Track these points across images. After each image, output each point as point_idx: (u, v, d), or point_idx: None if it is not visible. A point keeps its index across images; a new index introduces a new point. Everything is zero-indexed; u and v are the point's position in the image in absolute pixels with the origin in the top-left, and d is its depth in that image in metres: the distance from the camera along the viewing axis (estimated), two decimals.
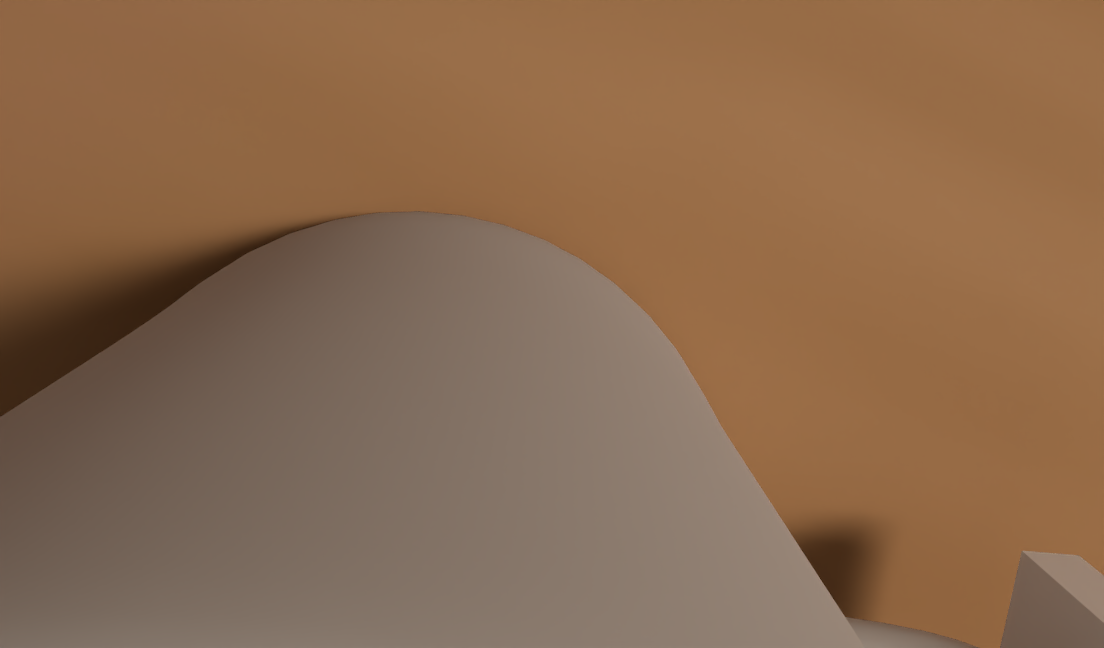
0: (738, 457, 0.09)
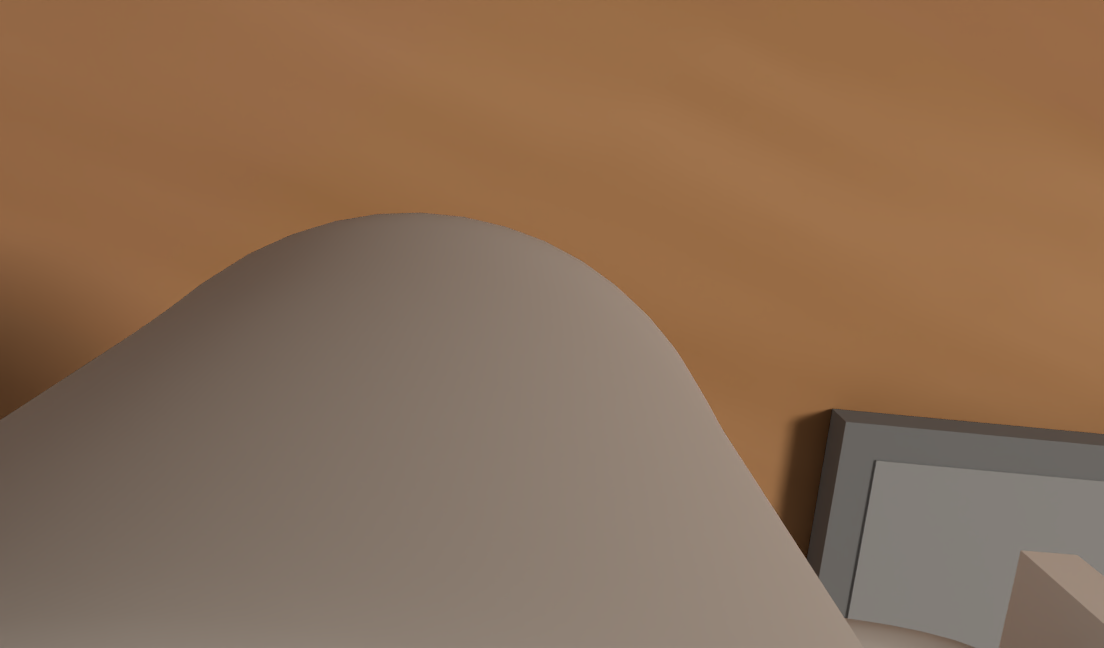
0: (738, 458, 0.09)
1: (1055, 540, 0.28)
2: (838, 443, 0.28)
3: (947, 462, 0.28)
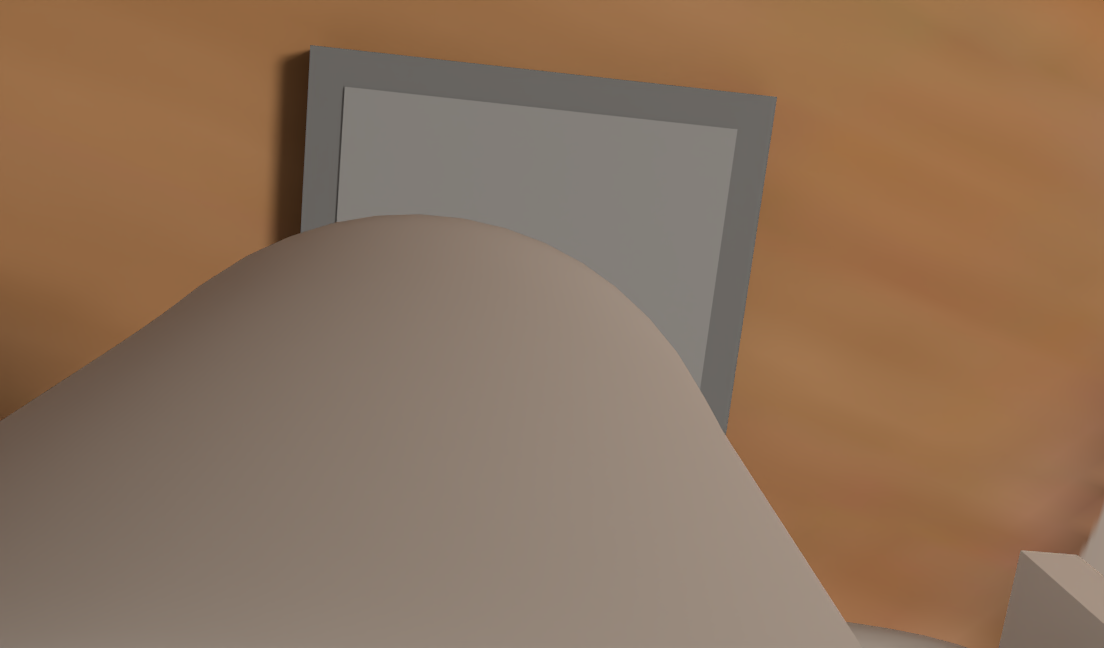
0: (740, 463, 0.09)
1: (535, 174, 0.28)
2: (311, 72, 0.28)
3: (418, 90, 0.28)
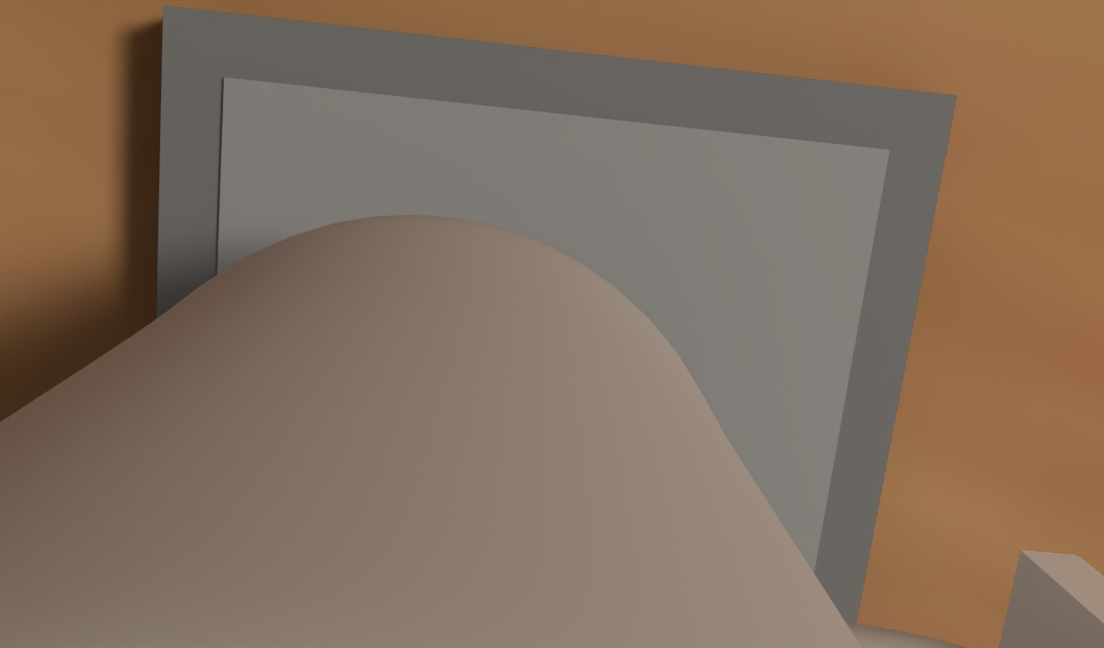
0: (740, 463, 0.09)
1: (550, 225, 0.17)
2: (168, 52, 0.16)
3: (351, 83, 0.16)
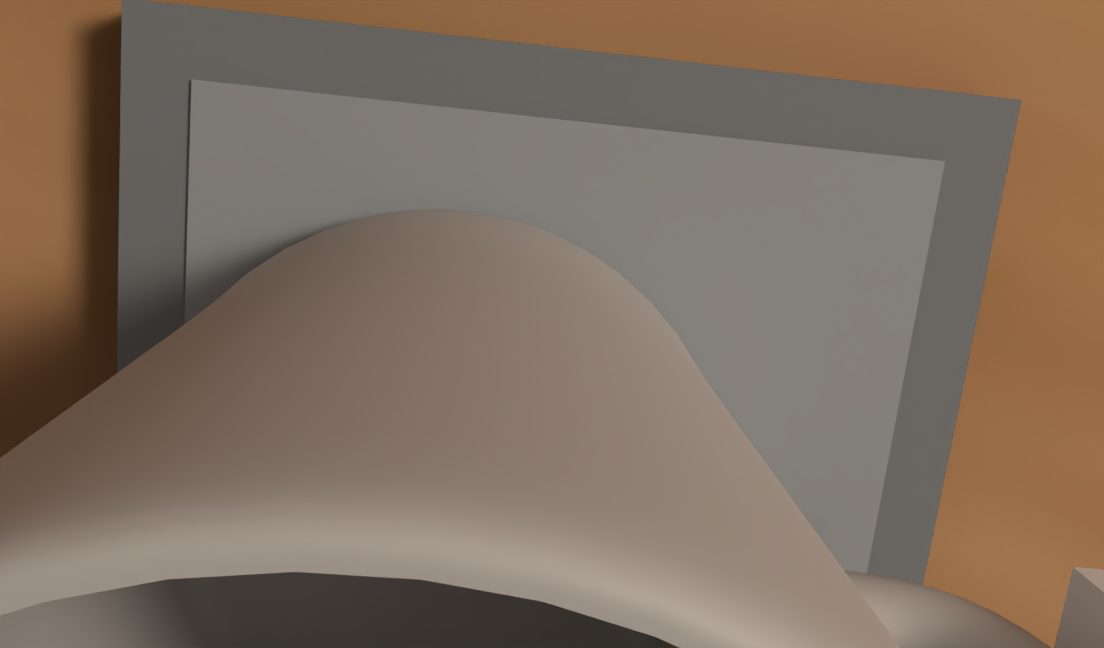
0: (730, 416, 0.10)
1: None
2: (128, 50, 0.14)
3: (336, 87, 0.14)
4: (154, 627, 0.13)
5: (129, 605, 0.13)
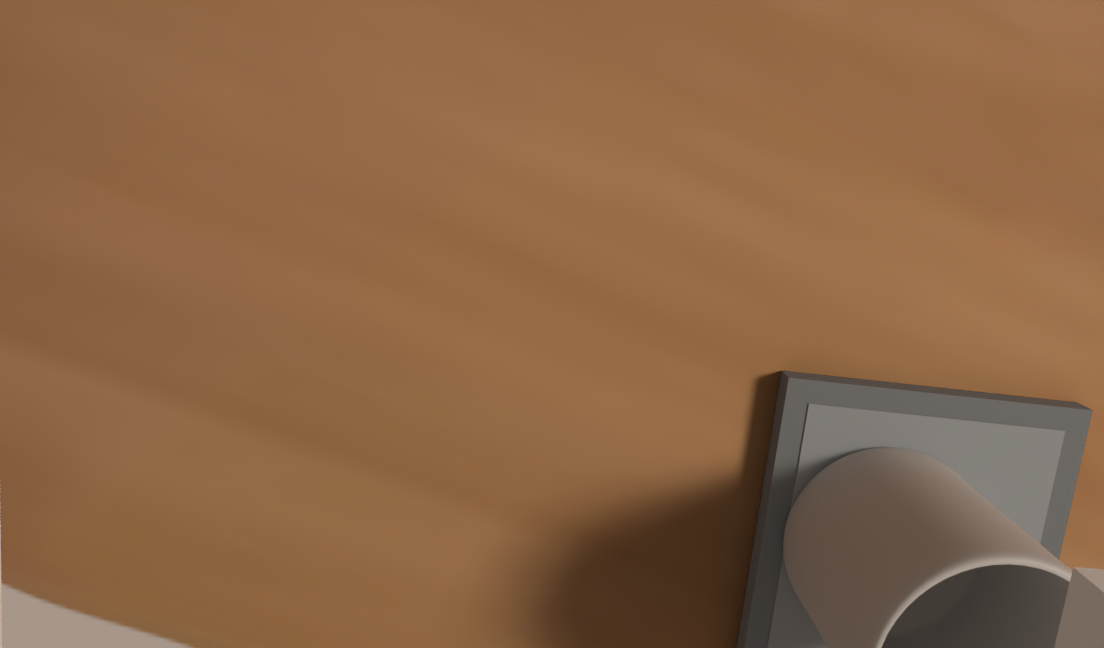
0: None
1: None
2: (784, 392, 0.42)
3: (856, 405, 0.42)
4: None
5: None
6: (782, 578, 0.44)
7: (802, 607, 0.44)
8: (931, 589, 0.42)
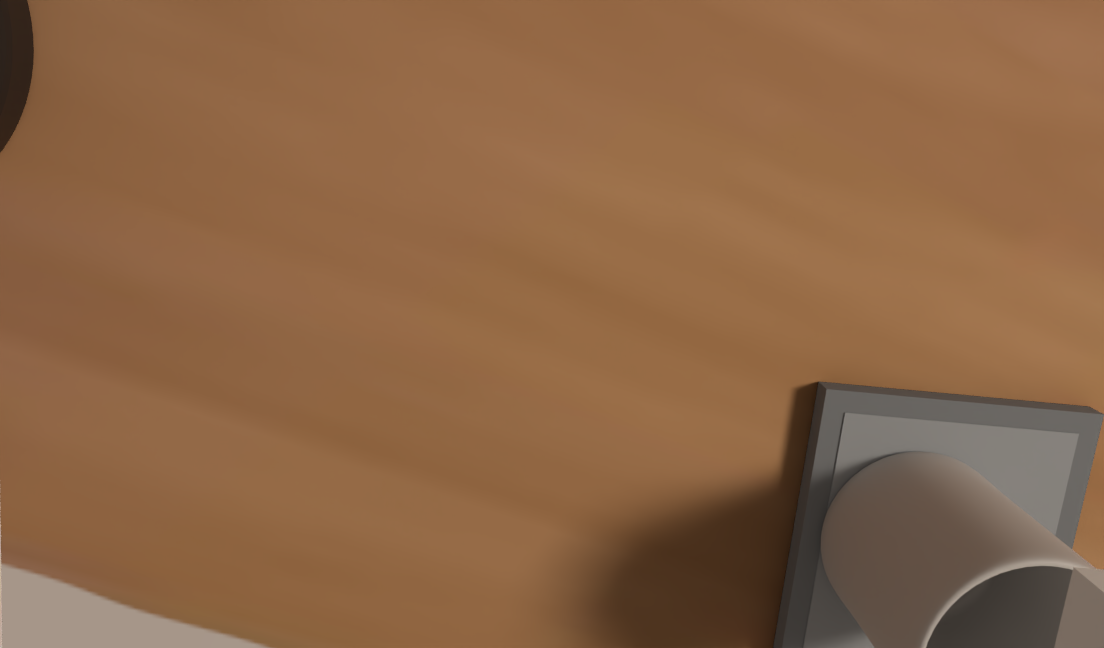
0: None
1: None
2: (822, 402, 0.46)
3: (888, 413, 0.45)
4: None
5: None
6: (819, 573, 0.47)
7: (837, 599, 0.47)
8: None
